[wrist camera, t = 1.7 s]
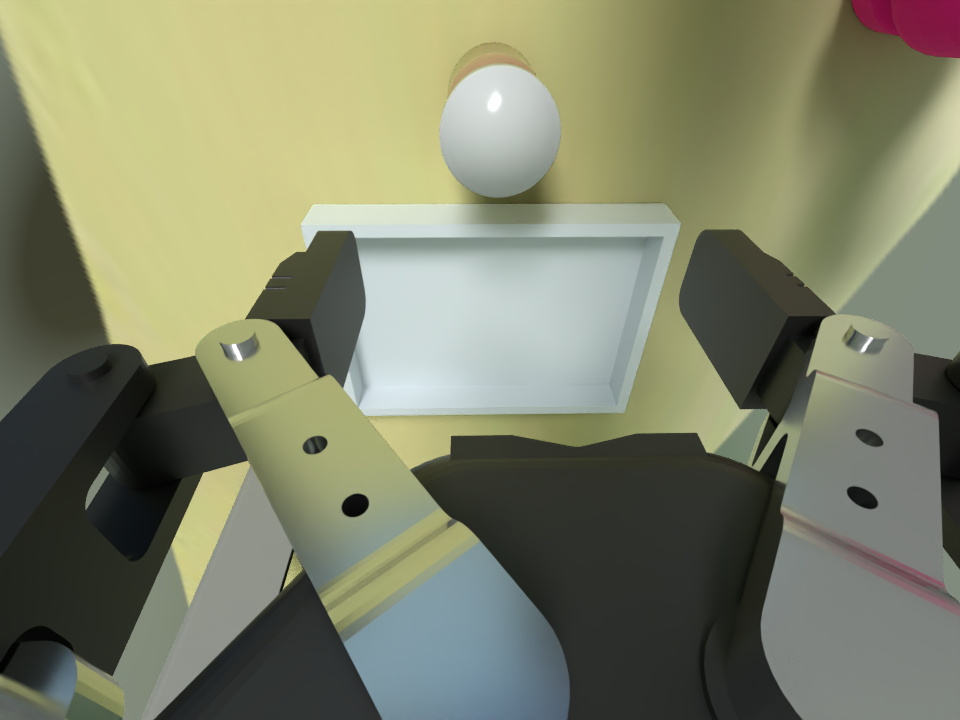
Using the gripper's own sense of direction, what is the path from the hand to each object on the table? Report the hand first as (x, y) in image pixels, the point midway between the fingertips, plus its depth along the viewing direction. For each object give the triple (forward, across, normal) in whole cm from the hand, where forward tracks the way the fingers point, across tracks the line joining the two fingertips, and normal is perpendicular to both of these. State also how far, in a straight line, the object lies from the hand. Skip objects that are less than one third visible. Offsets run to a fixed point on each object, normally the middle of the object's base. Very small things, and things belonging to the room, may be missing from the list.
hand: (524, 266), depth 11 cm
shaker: (+19, 0, 0) cm, 19 cm away
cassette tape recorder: (+19, +20, +34) cm, 44 cm away
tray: (+19, 0, +14) cm, 23 cm away
